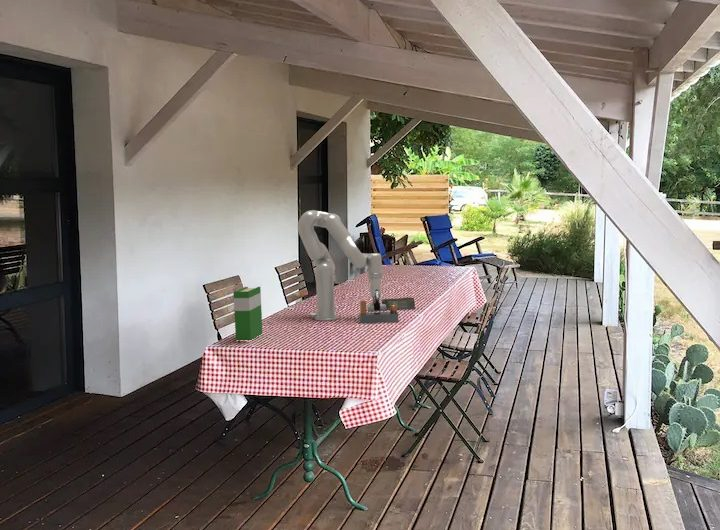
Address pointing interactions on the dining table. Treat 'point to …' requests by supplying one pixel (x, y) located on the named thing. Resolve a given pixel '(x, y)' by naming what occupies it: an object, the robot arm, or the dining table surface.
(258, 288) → the green cereal box
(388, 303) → the beverage carton
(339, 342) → the dining table surface
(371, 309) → the white box
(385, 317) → the plane body
